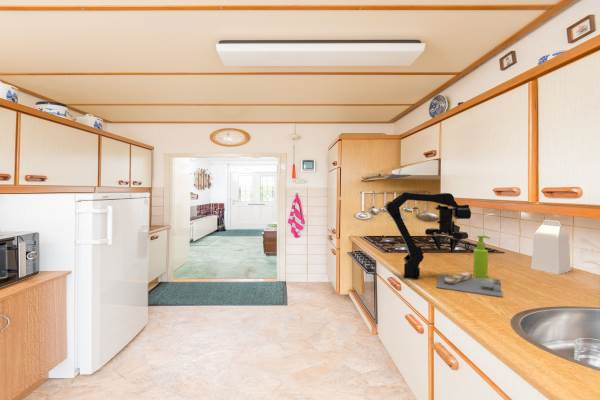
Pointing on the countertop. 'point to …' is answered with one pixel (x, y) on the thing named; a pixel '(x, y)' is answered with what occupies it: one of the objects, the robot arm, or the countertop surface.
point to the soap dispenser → (481, 259)
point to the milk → (551, 248)
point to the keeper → (495, 283)
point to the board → (468, 286)
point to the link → (457, 278)
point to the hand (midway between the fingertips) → (445, 251)
